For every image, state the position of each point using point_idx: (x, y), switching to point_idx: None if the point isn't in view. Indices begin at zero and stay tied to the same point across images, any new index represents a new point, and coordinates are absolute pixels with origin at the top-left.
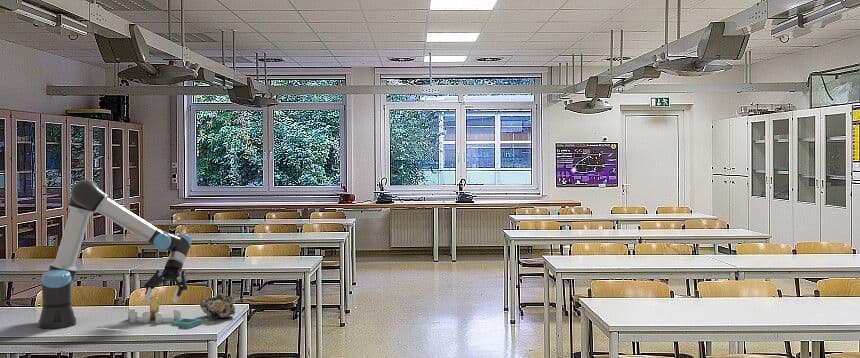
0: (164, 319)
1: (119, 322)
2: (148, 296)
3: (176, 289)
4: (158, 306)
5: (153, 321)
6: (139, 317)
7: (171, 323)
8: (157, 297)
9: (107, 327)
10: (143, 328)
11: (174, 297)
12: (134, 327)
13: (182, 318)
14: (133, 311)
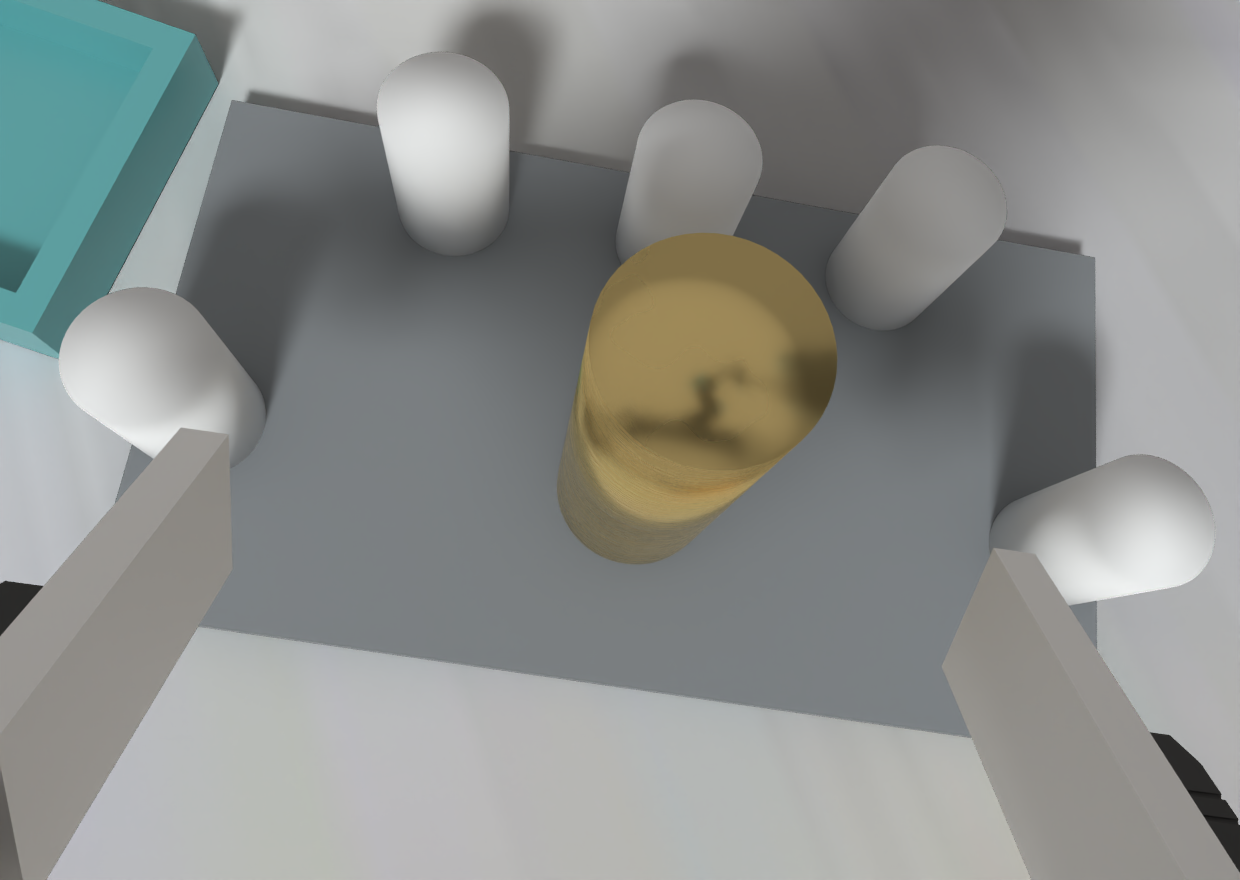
0: (467, 501)
1: (1090, 293)
2: (1019, 708)
3: (27, 683)
4: (573, 402)
5: None
6: None
7: (201, 48)
8: (612, 320)
9: (1123, 121)
10: (607, 31)
11: (152, 471)
12: (761, 98)
13: None
14: (1070, 485)
